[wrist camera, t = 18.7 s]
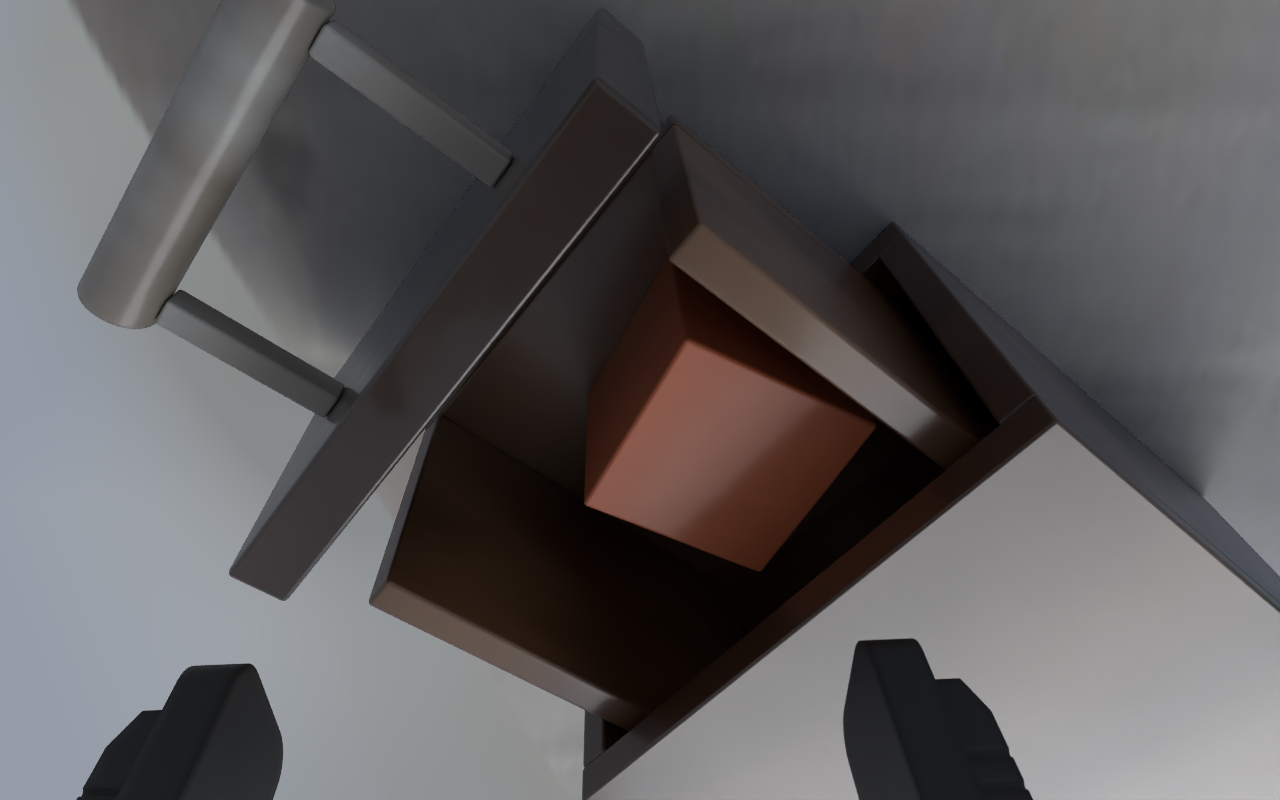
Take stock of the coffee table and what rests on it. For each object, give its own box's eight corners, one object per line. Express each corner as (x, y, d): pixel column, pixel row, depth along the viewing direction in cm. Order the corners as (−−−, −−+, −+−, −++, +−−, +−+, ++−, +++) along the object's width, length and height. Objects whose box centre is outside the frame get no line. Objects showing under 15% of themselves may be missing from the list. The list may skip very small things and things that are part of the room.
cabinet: (588, 527, 26) (580, 801, 18) (892, 220, 21) (1057, 418, 13) (902, 710, 31) (999, 985, 23) (1205, 499, 26) (1455, 758, 18)
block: (582, 506, 17) (761, 574, 19) (686, 337, 15) (879, 426, 17) (586, 395, 21) (735, 458, 22) (671, 248, 19) (830, 326, 20)
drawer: (148, 270, 20) (-55, 445, 14) (392, -176, 16) (251, -211, 9) (717, 604, 27) (751, 823, 20) (1005, 355, 22) (1159, 541, 16)
